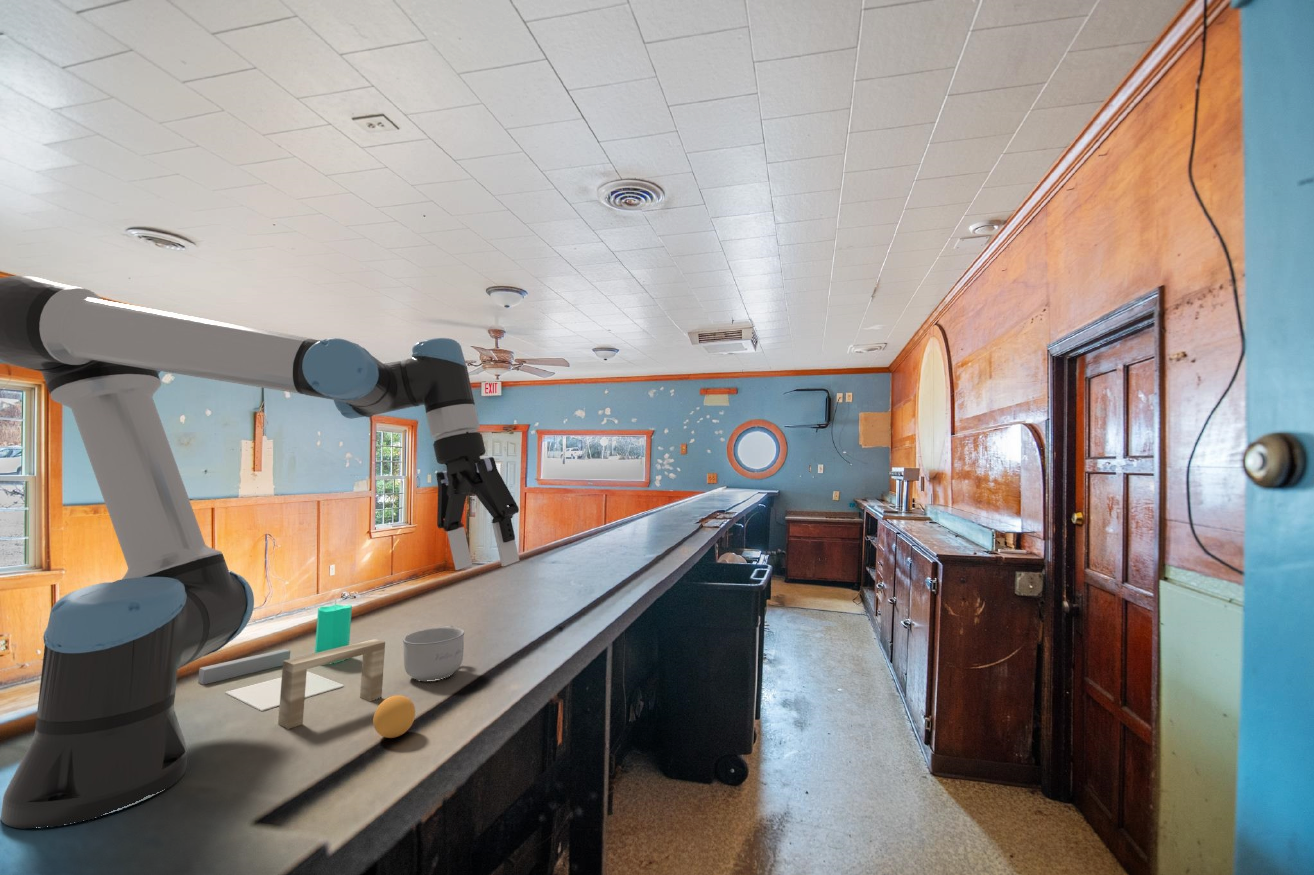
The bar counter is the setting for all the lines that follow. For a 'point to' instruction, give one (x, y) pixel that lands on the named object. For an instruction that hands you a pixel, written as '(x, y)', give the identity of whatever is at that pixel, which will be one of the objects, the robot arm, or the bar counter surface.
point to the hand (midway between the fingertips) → (486, 566)
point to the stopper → (242, 666)
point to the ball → (394, 716)
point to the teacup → (433, 652)
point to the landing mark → (279, 691)
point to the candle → (333, 627)
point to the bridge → (297, 667)
